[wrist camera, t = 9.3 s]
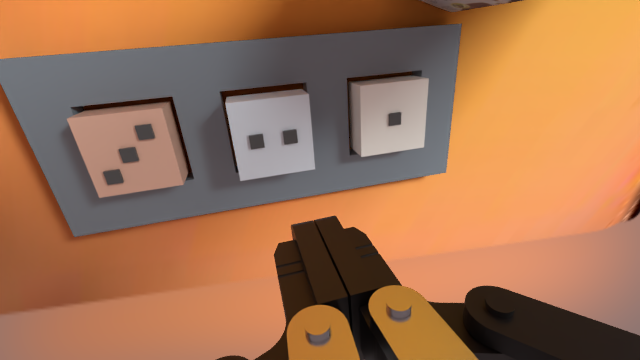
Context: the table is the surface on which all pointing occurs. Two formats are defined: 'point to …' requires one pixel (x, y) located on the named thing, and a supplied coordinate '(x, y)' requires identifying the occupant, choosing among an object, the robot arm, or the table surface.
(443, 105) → the button board
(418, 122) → the tile one
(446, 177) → the table surface
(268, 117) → the tile two
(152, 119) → the tile three
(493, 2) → the coffee box
